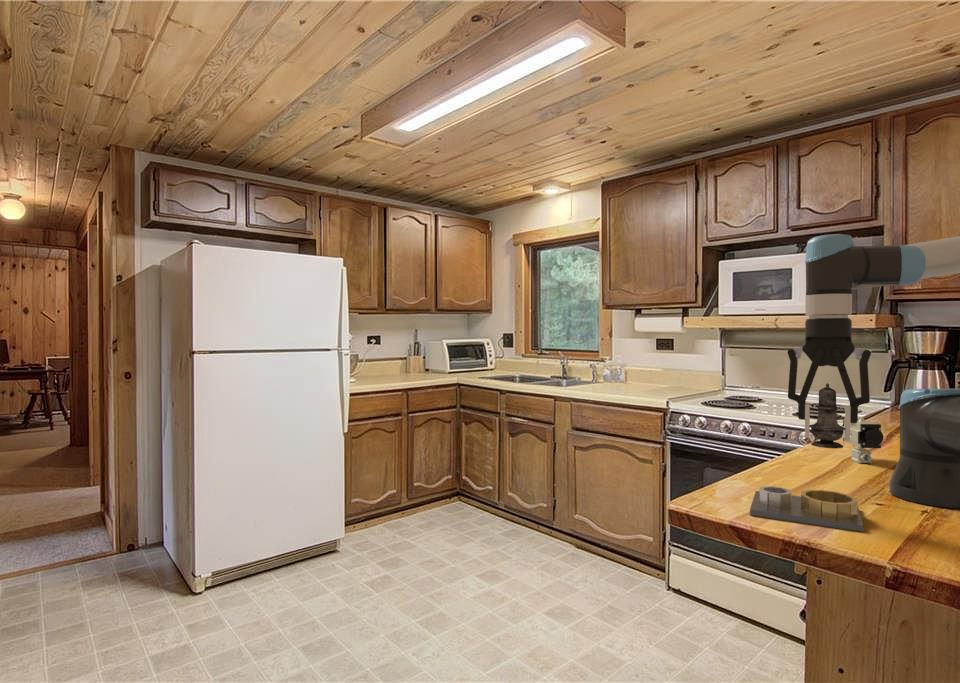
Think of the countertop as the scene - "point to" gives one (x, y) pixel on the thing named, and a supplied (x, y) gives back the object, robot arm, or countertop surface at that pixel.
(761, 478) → the countertop surface
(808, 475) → the countertop surface
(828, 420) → the salt shaker
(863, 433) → the pneumatic valve
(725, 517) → the countertop surface
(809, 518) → the plate
